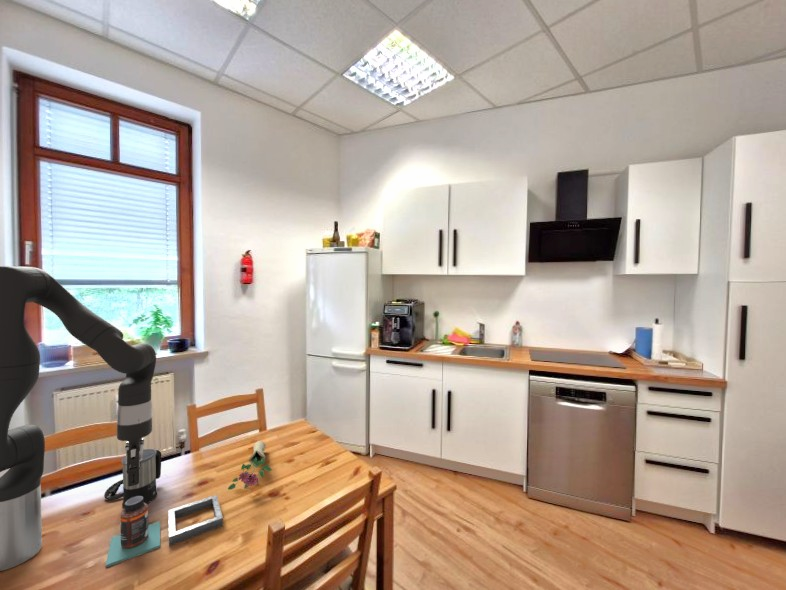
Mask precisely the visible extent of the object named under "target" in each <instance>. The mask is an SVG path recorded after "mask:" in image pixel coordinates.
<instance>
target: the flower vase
mask: <svg viewBox="0 0 786 590" xmlns="http://www.w3.org/2000/svg"><path fill="white" fill-rule="evenodd" d="M266 446H267V444H266V443H265V442H264V441H262V440H258V441H257V442H255V444H254V445H253V453H252V454H251V456H250V457H249V458H248V459H247V461H248V463H249V464H244V463H242V465H241V470H243V472H241V473H240V474H239V475H238V477H235V478H234V479H233V480H232V482H233V483H232V484H230V485H229V486H228V488H227V490H230V491H231V490H235V488H236V485H237V483H238V482H239V481H240V482H242V483H243V484H244V487H243V488H244V489H248V487H252V486H255V485H257V484H259V479H260V477H261V478H262V479H263V478H264V471H267V472H269V471H272V468H271V467H270V466H269V465H270V463H268V464H266V465H265V463H266V455H265V453H264V451H265V449H266V448H267V447H266ZM261 465H262V467H261ZM263 465H264V466H263ZM252 468H253V469H252ZM251 469H252V472H251V473H250V472H248V471H249V470H251ZM255 469H260V470H259V471H258V474H256V473H254V471H255ZM258 475H259V476H260V477H258ZM235 482H236V483H235Z"/></svg>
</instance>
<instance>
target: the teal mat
mask: <svg viewBox="0 0 786 590" xmlns="http://www.w3.org/2000/svg"><path fill="white" fill-rule="evenodd" d="M109 543H110V544H109V548H108V553H107V556H106V561H105V568H108V567H111V566H113V565H116V564H119V563H122V562H124V560H125V561H127V560H129V559H133V558H135V557H138V556H140V555H143V554H146V553H148V552H151V551H154V550H156V549H159V548H161V520H160V521H159V520H158V521H155V522H154V523H150V524H148V537H147V539H146V540H145V541H144V542H142V543H141V544H139V545H137V546H135V547H132V548H123V547H122V546H121V533H120V534H118V535H115V536H112V537H111V538H110V542H109ZM121 561H122V562H121Z"/></svg>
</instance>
